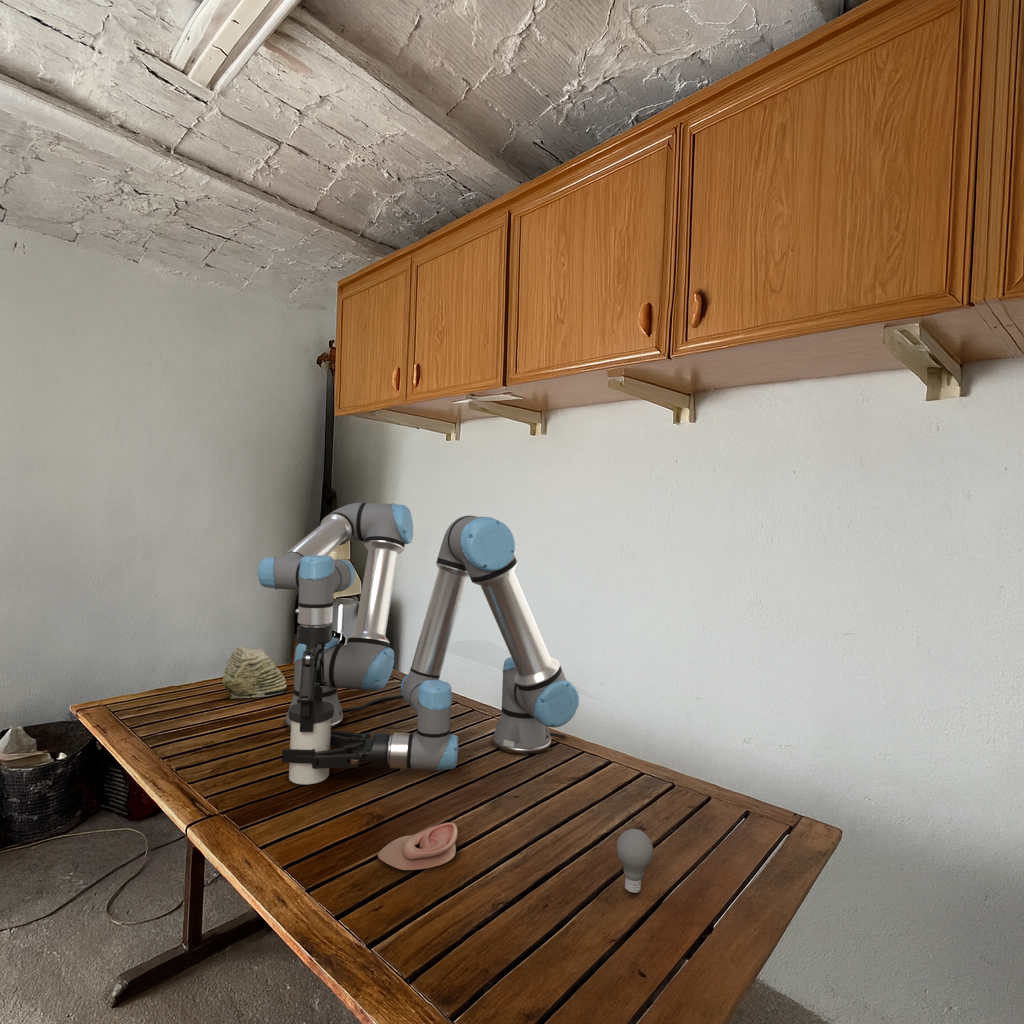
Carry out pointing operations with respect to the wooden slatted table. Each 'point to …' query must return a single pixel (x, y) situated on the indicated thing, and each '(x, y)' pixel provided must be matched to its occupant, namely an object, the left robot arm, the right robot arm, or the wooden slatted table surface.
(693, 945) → the wooden slatted table surface
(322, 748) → the jar
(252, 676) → the fossil
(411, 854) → the anatomical model
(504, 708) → the right robot arm
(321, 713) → the lid
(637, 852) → the light bulb
